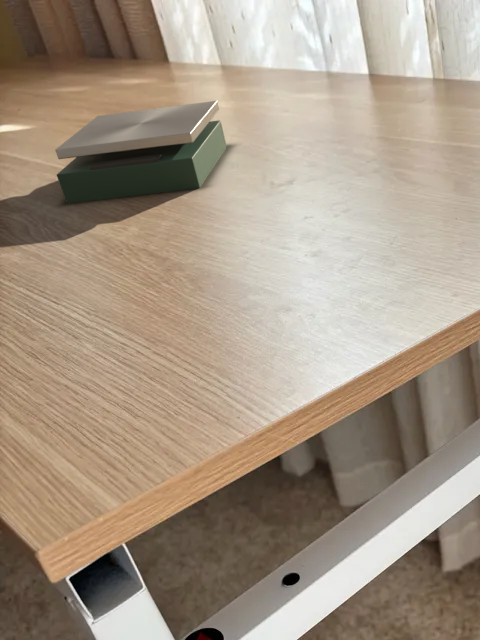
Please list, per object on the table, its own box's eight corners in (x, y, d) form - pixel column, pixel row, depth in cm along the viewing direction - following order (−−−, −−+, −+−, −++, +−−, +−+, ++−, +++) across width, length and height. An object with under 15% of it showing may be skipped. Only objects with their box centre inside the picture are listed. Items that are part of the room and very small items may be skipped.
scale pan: (58, 159, 70) (54, 149, 70) (99, 124, 80) (97, 115, 79) (193, 142, 69) (190, 132, 69) (219, 109, 79) (217, 100, 78)
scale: (66, 204, 71) (54, 171, 70) (110, 162, 81) (100, 132, 80) (200, 188, 70) (191, 154, 69) (227, 147, 80) (220, 117, 78)
